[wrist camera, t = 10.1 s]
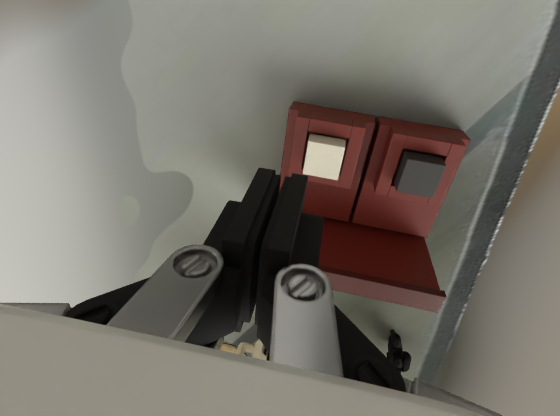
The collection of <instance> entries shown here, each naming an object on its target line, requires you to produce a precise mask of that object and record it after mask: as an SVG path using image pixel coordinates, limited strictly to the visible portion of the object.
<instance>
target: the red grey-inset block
mask: <svg viewBox="0 0 560 416" xmlns="http://www.w3.org/2000/svg"><path fill="white" fill-rule="evenodd" d="M469 143H470V139H469V138H468V136H467V135H466V134H465V133H464V132H463V131H461V130H455V129H449V128H444V127H438V126H432V125H426V124H420V123H414V122H408V121H403V120H397V119H391V118H385V117H378V120H377V123H376V127H375V131H374V134H373V138H372V141H371V145H370V148H369V152H368V155H367V159H366V163H365V166H364V170H363V173H362V177H361V180H360V184H359V188H358V191H357V195H356V198H355V202H354V205H353V209H352V223H356V224H361V225H366V226H371V227H376V228H381V229H386V230H392V231H397V232H402V233H407V234H412V235H417V236H422V237H428V234H429V232H430V230H431V228H432V225H433V223H434V221H435V219H436V217H437V214H438V212H439V210H440V208H441V205H442V203H443V201H444V199H445V196H446V194H447V192H448V190H449V187H450V185H451V183H452V181H453V178H454V176H455V174H456V172H457V169H458V167H459V165H460V163H461V160H462V158H463V156H464V154H465V152H466V149H467V147H468V145H469ZM405 150H406V151H412V152H417V153H423V154H428V155H434V156H440V157H442V159H443V161H444V163H445V165H446V168H445V170H444V172H443V175H442V177H441V180H440V182H439V184H438V187H437V189H436V191H435V194H434V196H433V198H428V197H423V196H417V195H412V194H407V193H402V192H397V191H396V188H395V184H394V180H395V177H396V174H397V171H398V168H399V165H400V162H401V159H402V156H403V153H404V151H405Z"/></svg>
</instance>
